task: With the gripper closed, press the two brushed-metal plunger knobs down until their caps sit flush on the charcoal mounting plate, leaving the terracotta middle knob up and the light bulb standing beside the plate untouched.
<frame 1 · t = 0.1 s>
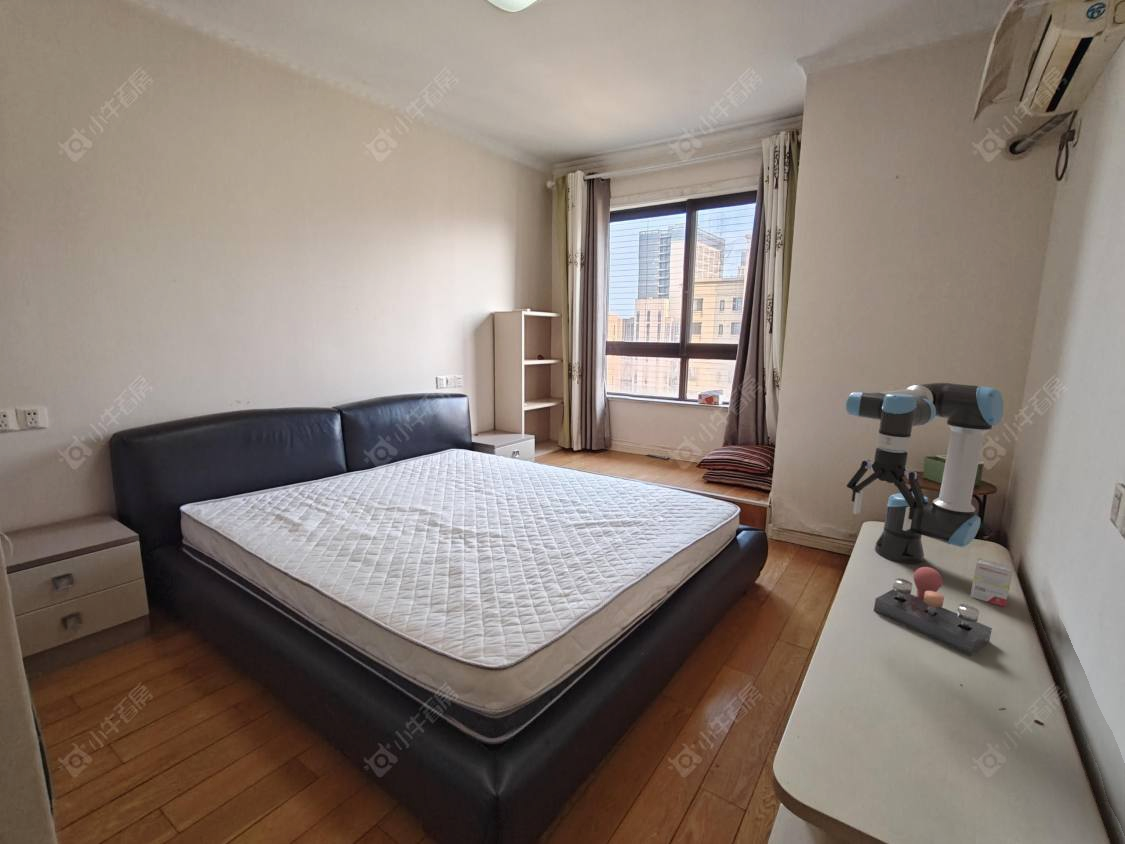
hand: (880, 521, 145), 28 cm above the table, fingers open, 13 cm apart
mount plate: (928, 625, 144), on the table
knob 2: (932, 604, 142), point 6 cm above the table, slide at 0.0 cm
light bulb: (922, 605, 154), on the table
knob 1: (901, 591, 149), point 6 cm above the table, slide at 0.0 cm
knob 3: (966, 618, 136), point 6 cm above the table, slide at 0.0 cm
ink box: (987, 599, 159), on the table
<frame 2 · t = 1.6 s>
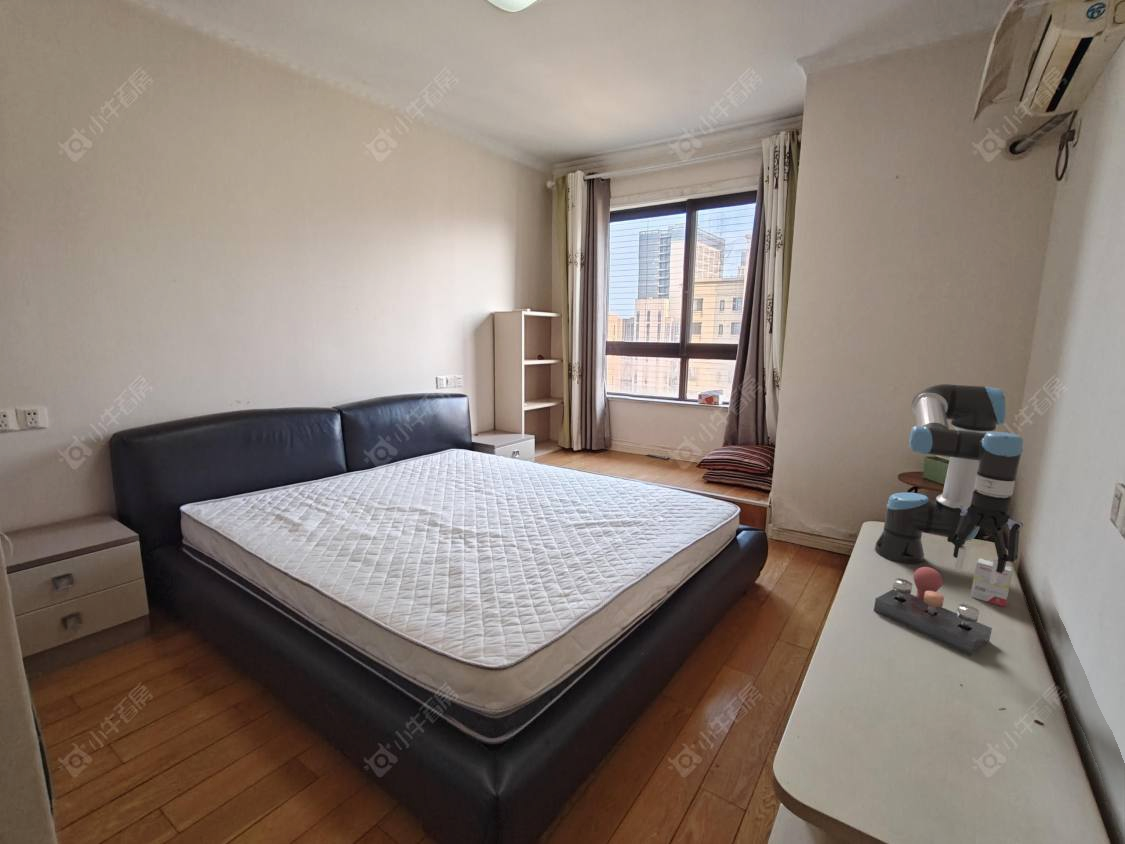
hand: (975, 575, 133), 19 cm above the table, fingers open, 7 cm apart
nothing on the table moved.
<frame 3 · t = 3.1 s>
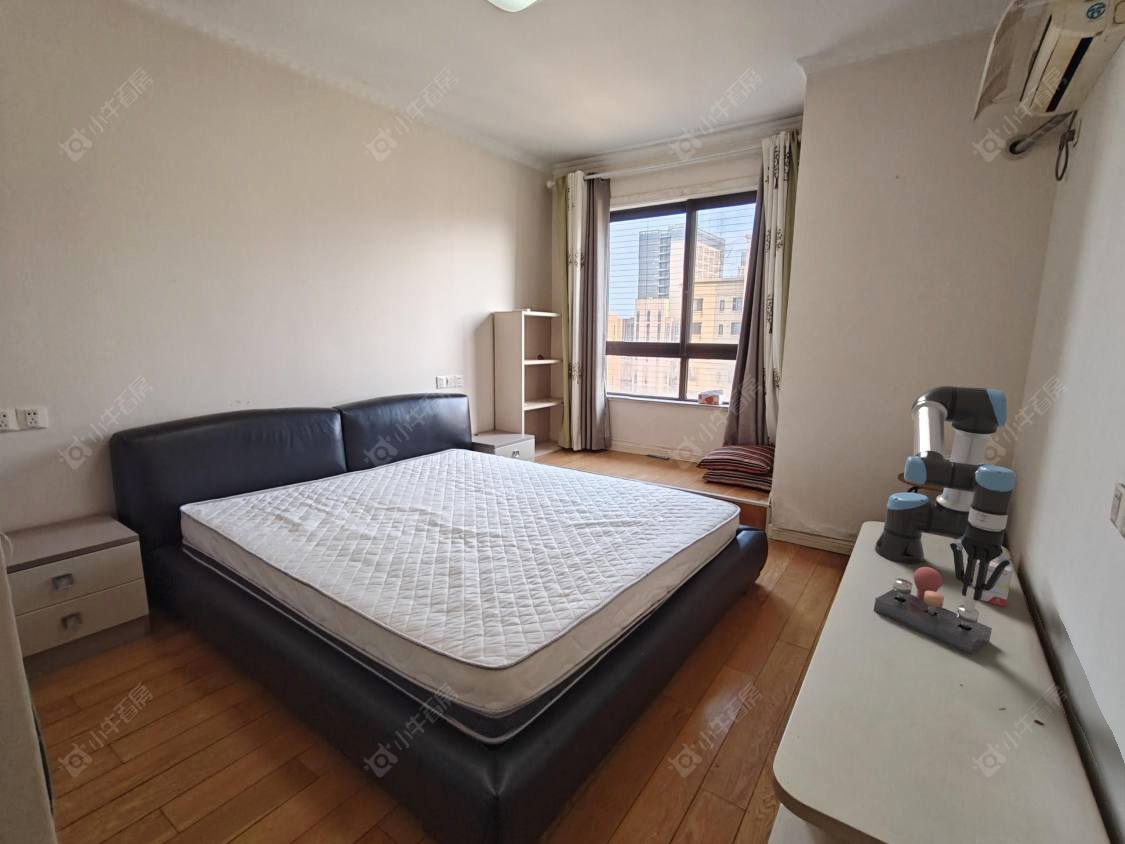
hand: (968, 608, 135), 9 cm above the table, fingers closed
knob 3: (966, 619, 136), point 6 cm above the table, slide at 0.3 cm, touching gripper
everything else where it was.
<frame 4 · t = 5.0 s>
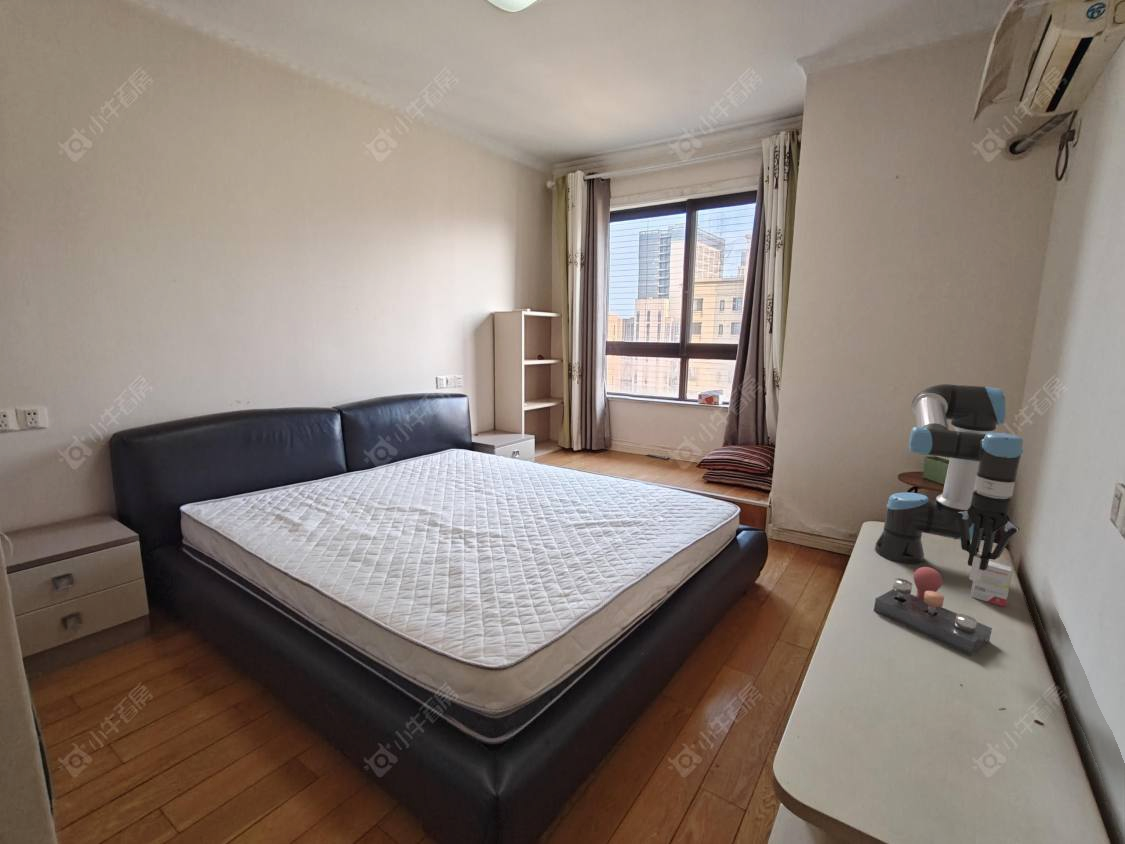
hand: (974, 578, 133), 18 cm above the table, fingers closed
knob 3: (964, 628, 136), point 3 cm above the table, slide at 3.0 cm, touching mount plate
everything else where it was.
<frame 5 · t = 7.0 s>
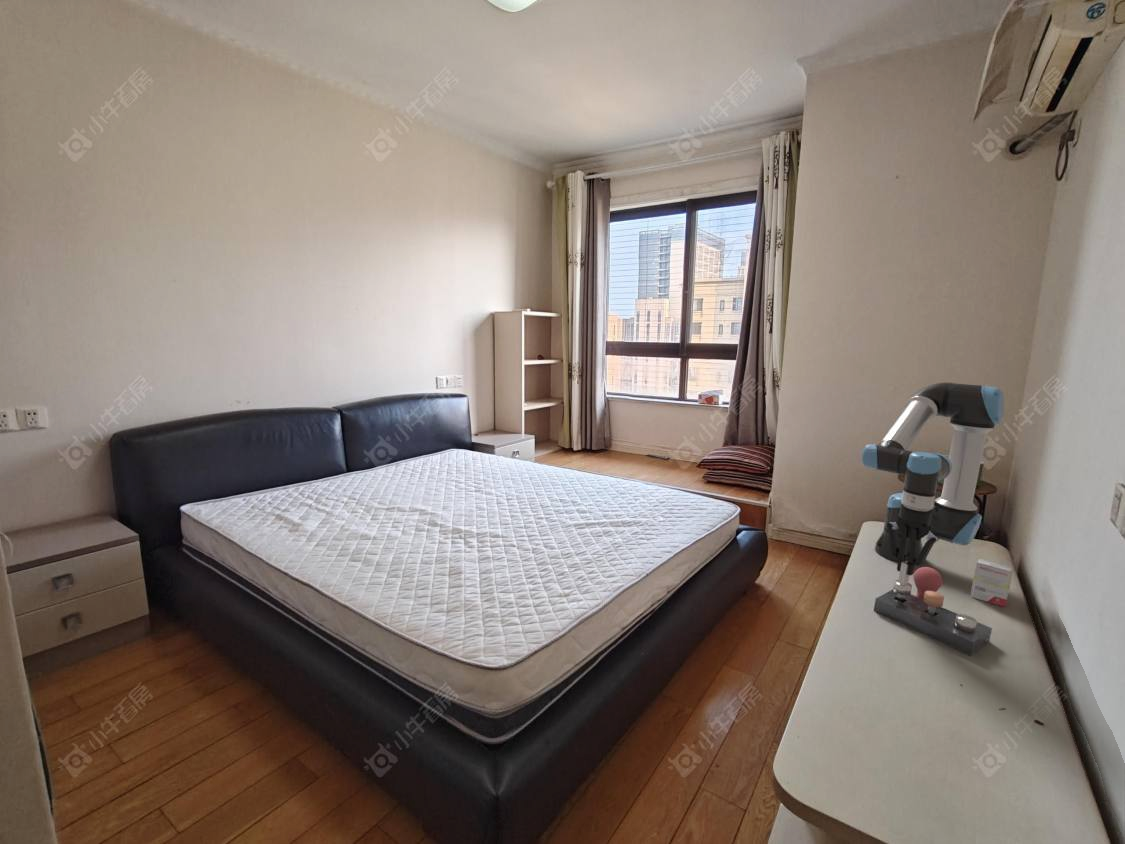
hand: (903, 583, 148), 9 cm above the table, fingers closed
knob 1: (901, 593, 149), point 6 cm above the table, slide at 0.5 cm, touching gripper
everything else where it was.
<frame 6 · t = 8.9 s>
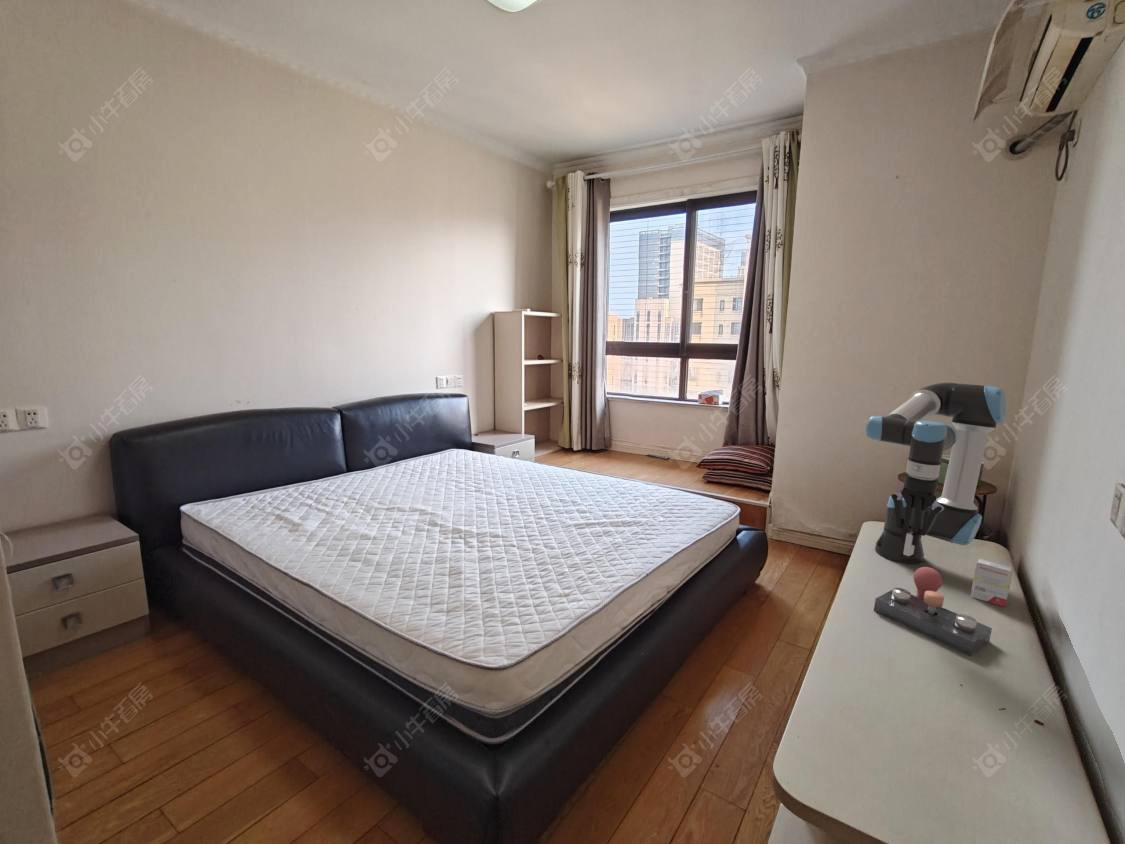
hand: (908, 554, 147), 18 cm above the table, fingers closed
knob 1: (900, 600, 149), point 3 cm above the table, slide at 3.0 cm, touching mount plate
everything else where it was.
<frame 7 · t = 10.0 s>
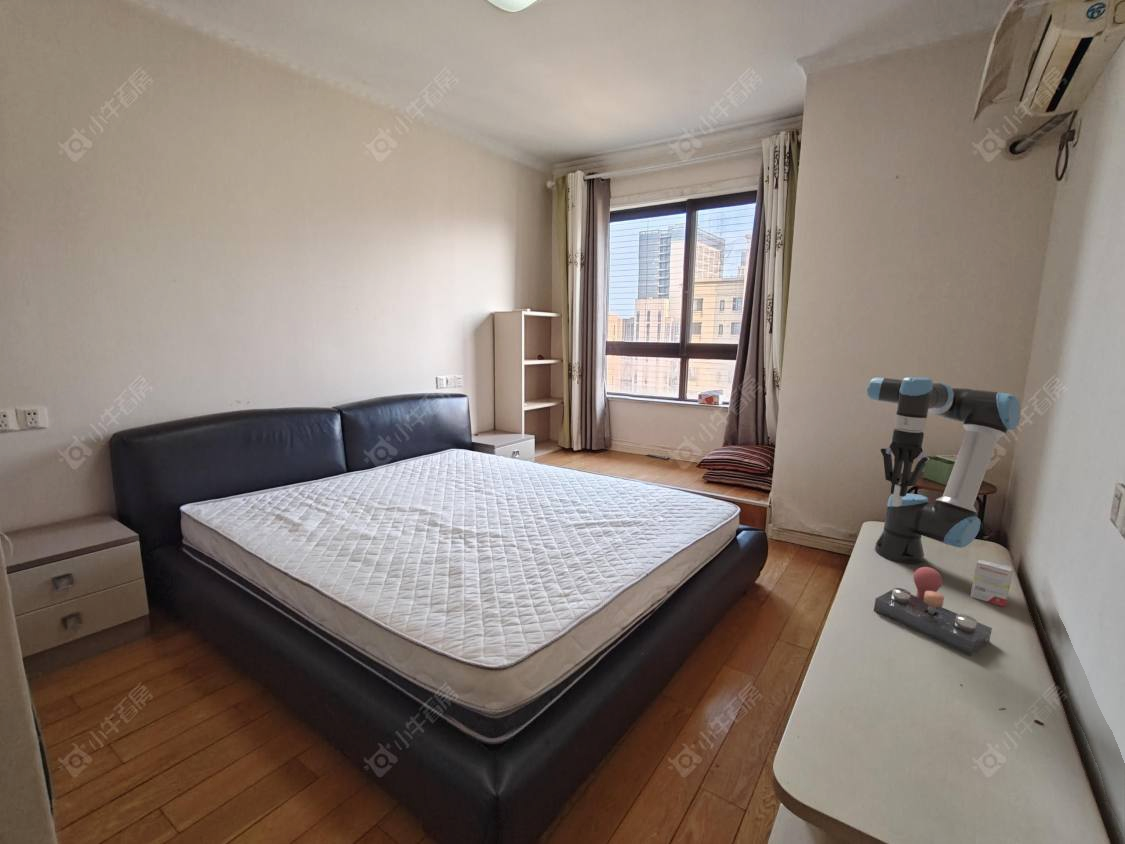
hand: (896, 505, 155), 29 cm above the table, fingers closed
nothing on the table moved.
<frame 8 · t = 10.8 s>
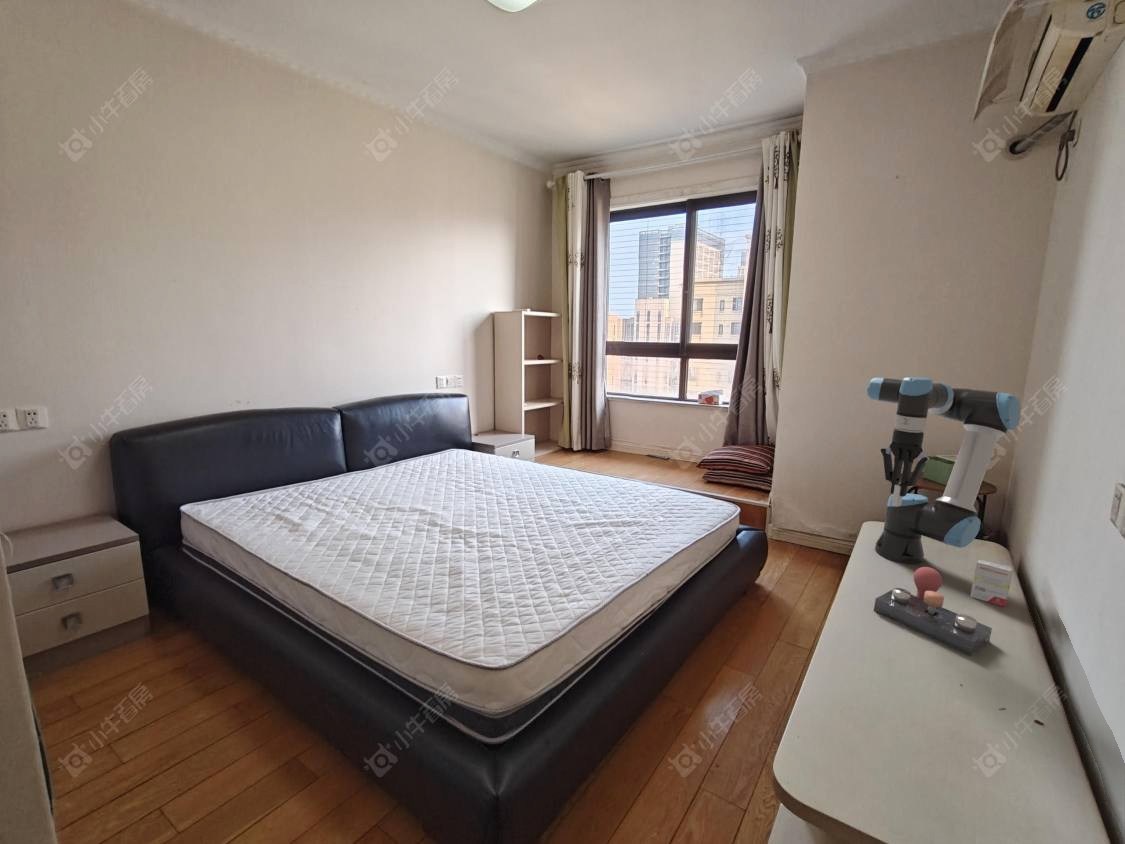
hand: (896, 505, 155), 29 cm above the table, fingers closed
nothing on the table moved.
at the end: knob 3 slide at 3.0 cm; knob 1 slide at 3.0 cm; knob 2 slide at 0.0 cm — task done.
